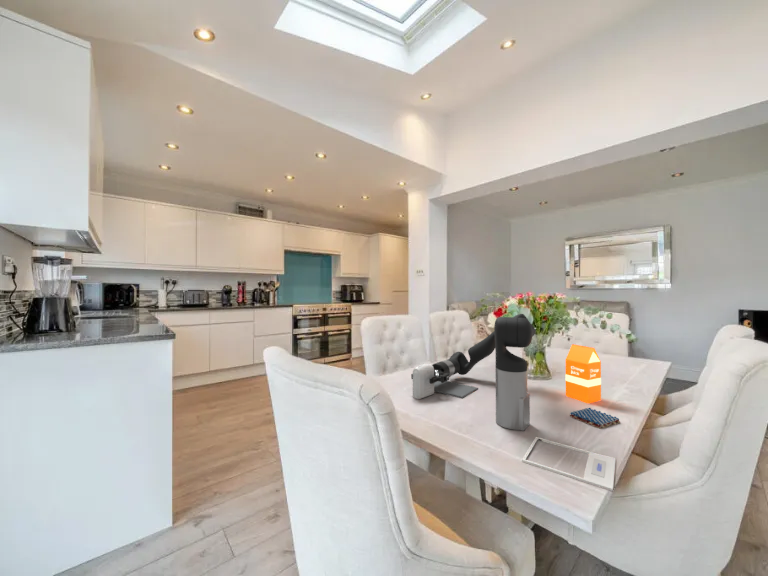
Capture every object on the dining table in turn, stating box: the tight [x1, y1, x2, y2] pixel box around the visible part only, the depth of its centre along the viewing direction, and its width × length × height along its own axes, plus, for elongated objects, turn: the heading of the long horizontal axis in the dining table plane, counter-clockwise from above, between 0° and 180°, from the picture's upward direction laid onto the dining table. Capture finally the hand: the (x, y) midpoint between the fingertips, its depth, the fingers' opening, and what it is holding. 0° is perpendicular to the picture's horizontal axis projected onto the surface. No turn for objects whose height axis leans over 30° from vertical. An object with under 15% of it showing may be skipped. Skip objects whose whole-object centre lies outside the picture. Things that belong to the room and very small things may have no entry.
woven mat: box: [569, 407, 621, 430], centre depth 100 cm, size 10×11×2 cm
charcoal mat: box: [434, 380, 479, 399], centre depth 130 cm, size 18×14×1 cm
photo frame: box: [521, 436, 616, 492], centre depth 76 cm, size 15×1×18 cm
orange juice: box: [564, 344, 602, 404], centre depth 118 cm, size 8×9×20 cm
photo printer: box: [412, 363, 435, 400], centre depth 123 cm, size 10×4×12 cm, turn 134°
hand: (420, 378), depth 121 cm, fingers open, 8 cm apart
